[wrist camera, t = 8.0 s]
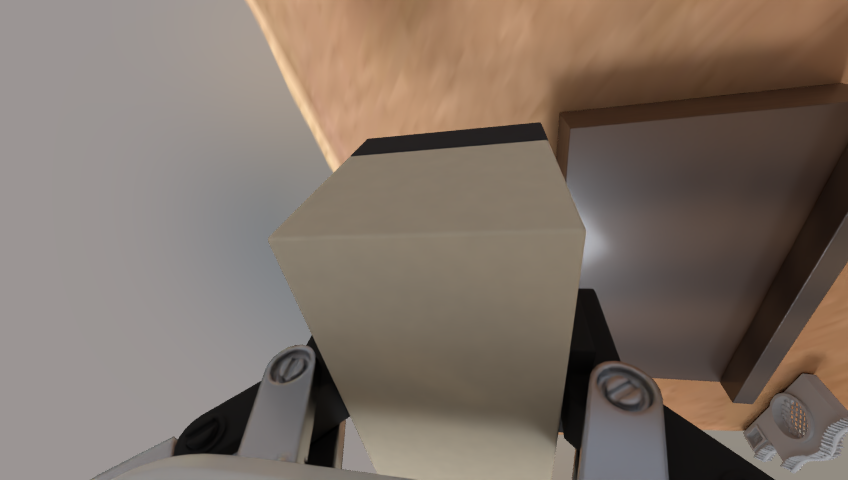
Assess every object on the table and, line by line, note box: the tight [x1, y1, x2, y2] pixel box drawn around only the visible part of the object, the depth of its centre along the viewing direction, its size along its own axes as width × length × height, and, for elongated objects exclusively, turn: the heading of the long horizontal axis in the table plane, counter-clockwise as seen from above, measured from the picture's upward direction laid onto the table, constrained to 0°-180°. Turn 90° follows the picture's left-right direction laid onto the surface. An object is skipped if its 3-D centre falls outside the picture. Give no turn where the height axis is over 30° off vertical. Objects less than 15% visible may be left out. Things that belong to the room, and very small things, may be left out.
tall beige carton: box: [268, 123, 586, 480], centre depth 10 cm, size 10×5×6 cm, turn 8°
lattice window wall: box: [743, 373, 848, 473], centre depth 34 cm, size 12×2×6 cm, turn 1°
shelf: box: [556, 83, 848, 404], centre depth 26 cm, size 24×16×6 cm, turn 8°
